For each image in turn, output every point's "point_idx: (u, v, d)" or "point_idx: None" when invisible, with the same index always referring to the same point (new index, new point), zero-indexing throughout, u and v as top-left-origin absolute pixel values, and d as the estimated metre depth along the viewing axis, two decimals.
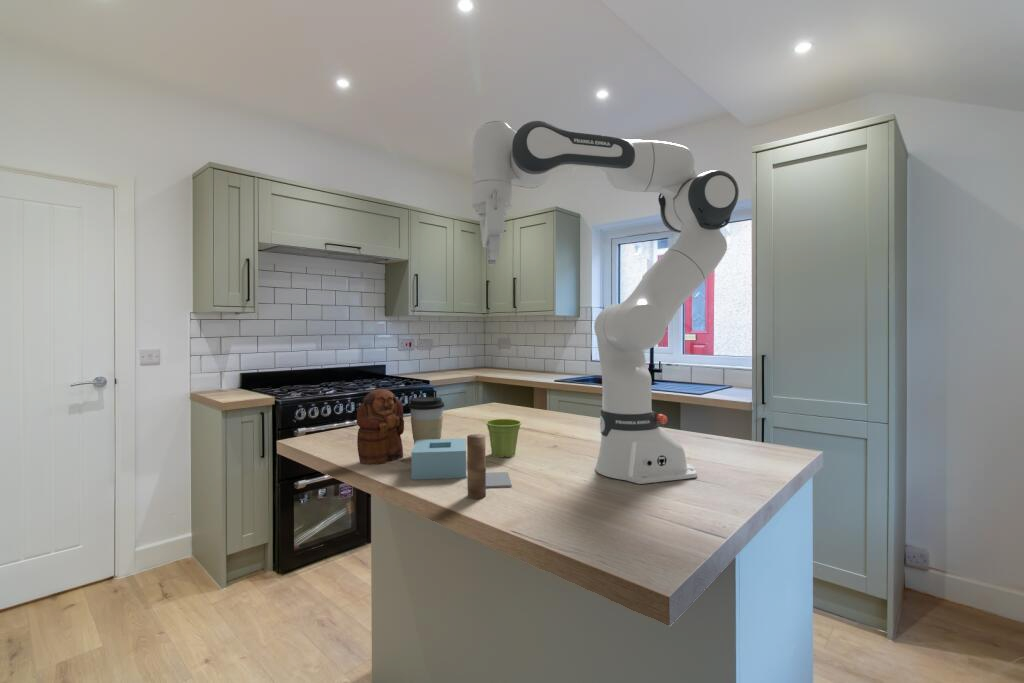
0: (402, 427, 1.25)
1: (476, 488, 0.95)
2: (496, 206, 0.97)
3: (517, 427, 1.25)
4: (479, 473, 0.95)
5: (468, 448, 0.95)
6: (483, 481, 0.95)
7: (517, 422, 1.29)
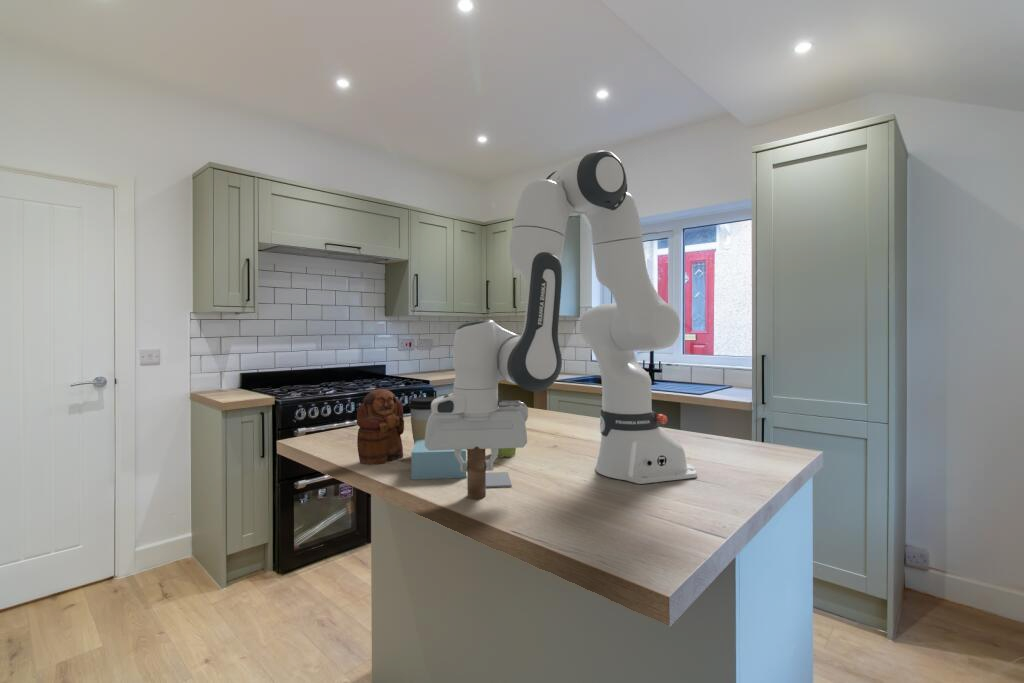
0: (402, 427, 1.25)
1: (476, 488, 0.95)
2: None
3: None
4: (479, 473, 0.95)
5: None
6: (483, 481, 0.95)
7: None
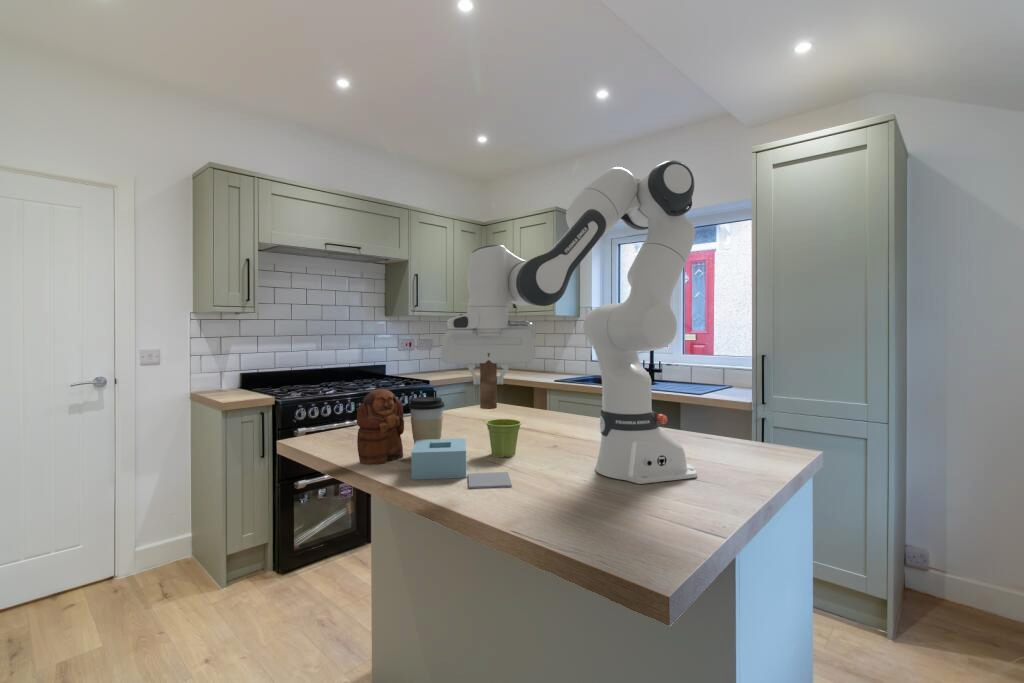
0: (402, 427, 1.25)
1: (488, 399, 1.03)
2: None
3: (517, 427, 1.25)
4: (491, 385, 1.03)
5: (481, 363, 1.04)
6: (494, 393, 1.04)
7: (517, 422, 1.29)
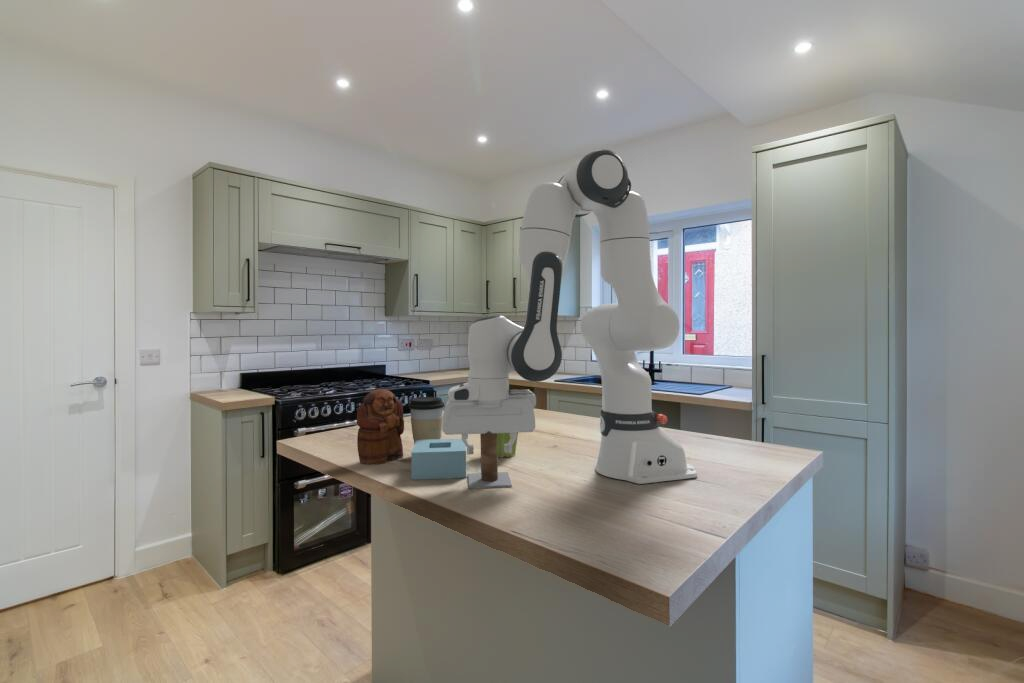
0: (402, 427, 1.25)
1: (489, 471, 1.04)
2: None
3: None
4: (492, 457, 1.04)
5: (481, 435, 1.04)
6: (495, 465, 1.05)
7: None
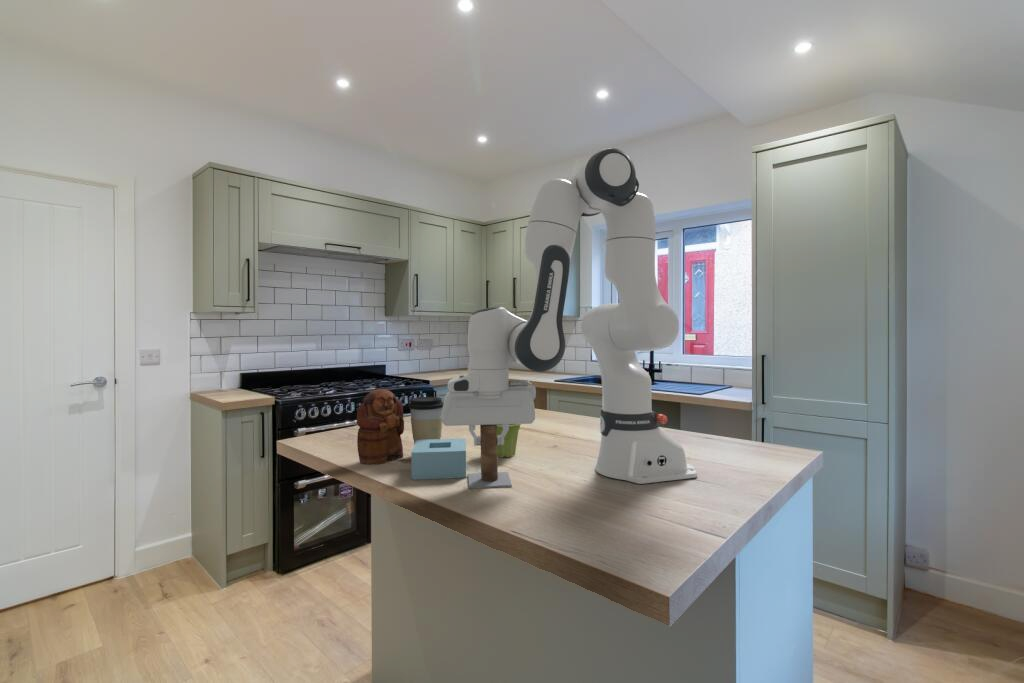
0: (402, 427, 1.25)
1: (489, 471, 1.04)
2: None
3: (517, 427, 1.25)
4: (492, 457, 1.04)
5: (481, 435, 1.04)
6: (495, 465, 1.04)
7: None
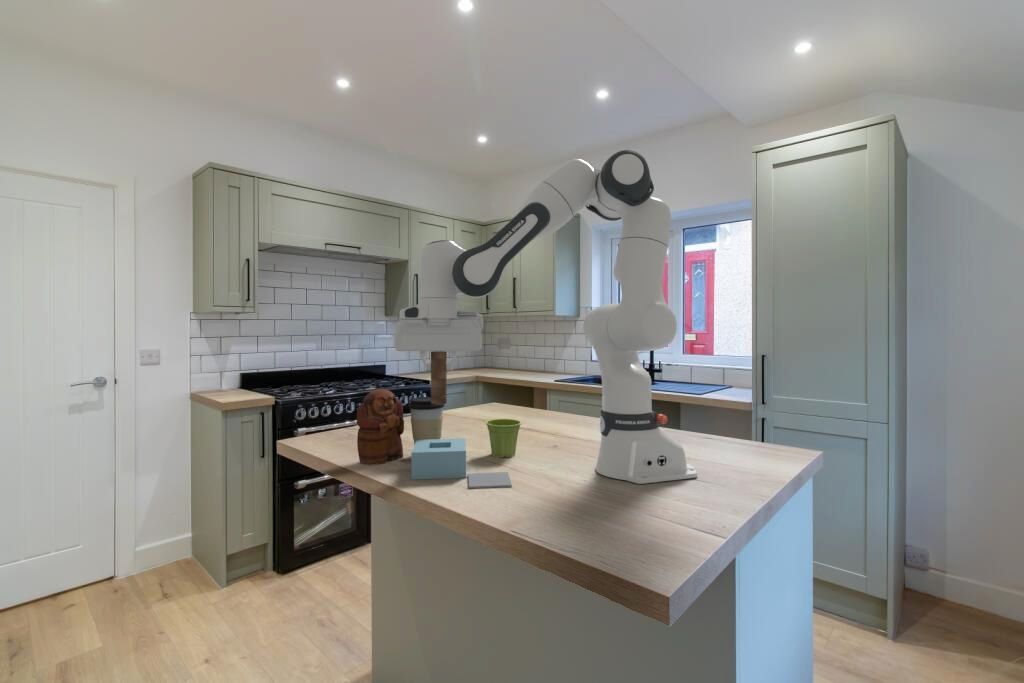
0: (402, 427, 1.25)
1: (438, 394, 1.11)
2: None
3: (517, 427, 1.25)
4: (441, 382, 1.11)
5: (431, 361, 1.12)
6: (444, 389, 1.12)
7: (517, 422, 1.29)
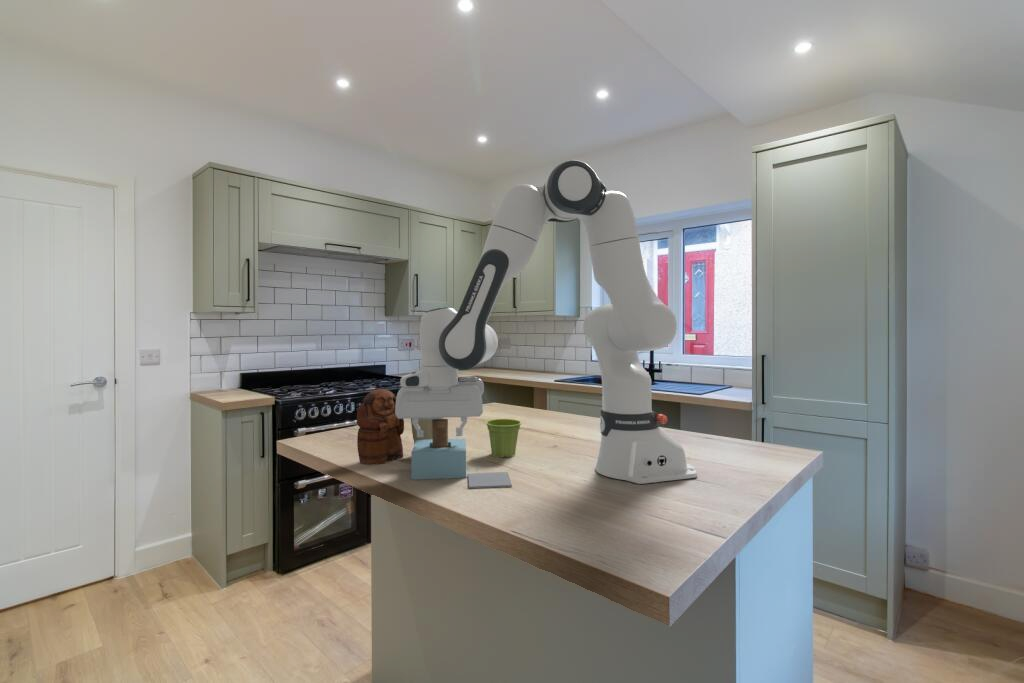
0: (402, 427, 1.25)
1: None
2: None
3: (517, 427, 1.25)
4: None
5: (433, 430, 1.12)
6: None
7: (517, 422, 1.29)
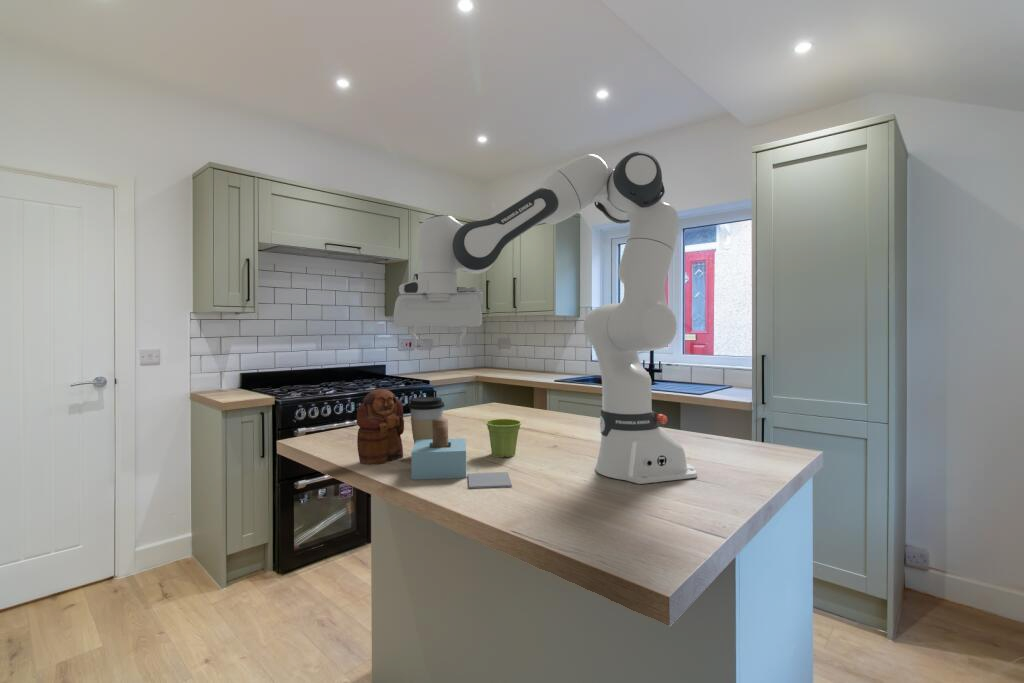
0: (402, 427, 1.25)
1: None
2: None
3: (517, 427, 1.25)
4: None
5: (433, 430, 1.12)
6: None
7: (517, 422, 1.29)
